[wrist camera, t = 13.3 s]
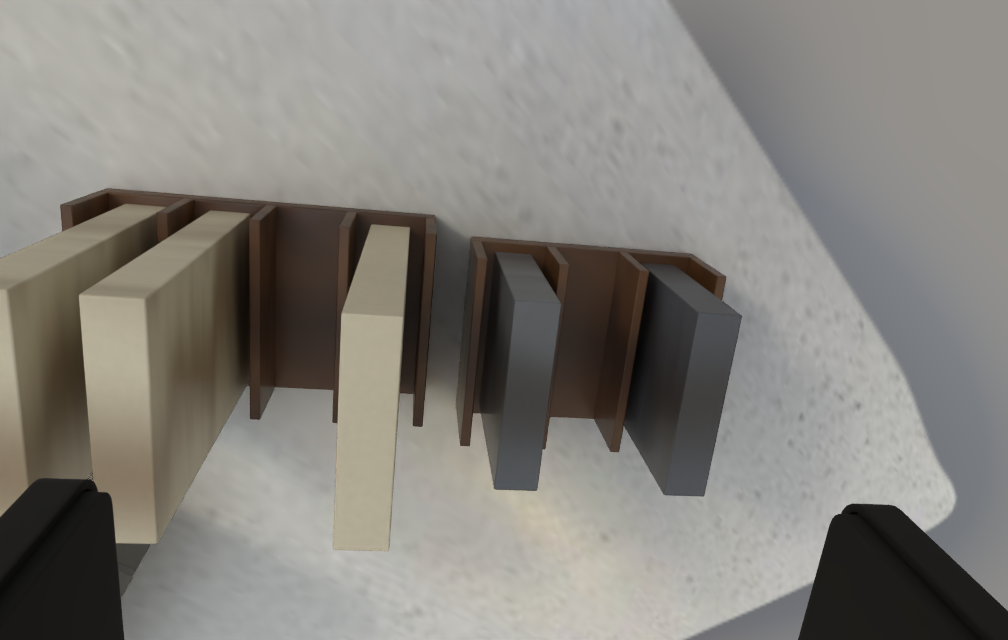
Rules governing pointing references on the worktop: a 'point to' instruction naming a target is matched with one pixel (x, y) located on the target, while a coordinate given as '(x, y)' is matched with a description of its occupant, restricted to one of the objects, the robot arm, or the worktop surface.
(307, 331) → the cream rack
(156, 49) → the worktop surface
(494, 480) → the brown slotted rack
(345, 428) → the cream book
